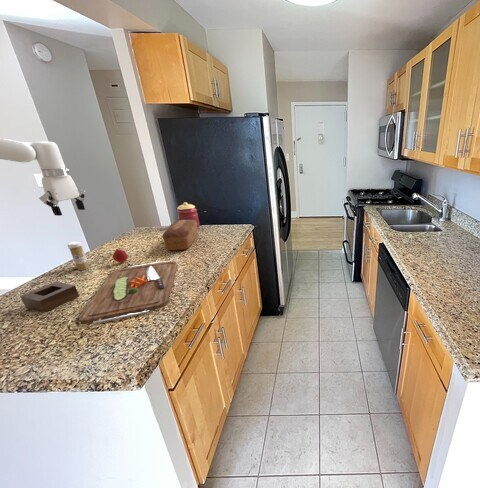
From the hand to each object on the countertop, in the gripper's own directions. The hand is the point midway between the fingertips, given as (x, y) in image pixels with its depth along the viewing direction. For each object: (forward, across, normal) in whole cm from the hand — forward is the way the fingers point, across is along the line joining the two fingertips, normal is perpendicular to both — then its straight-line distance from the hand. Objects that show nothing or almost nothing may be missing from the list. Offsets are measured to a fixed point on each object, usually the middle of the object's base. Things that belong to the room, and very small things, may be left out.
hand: (70, 212), depth 116 cm
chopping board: (+28, +12, +37) cm, 48 cm away
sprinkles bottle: (+28, +1, -4) cm, 28 cm away
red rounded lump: (+28, -7, +10) cm, 31 cm away
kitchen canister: (+28, -66, +6) cm, 72 cm away
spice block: (+28, +26, +13) cm, 41 cm away
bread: (+28, -37, +23) cm, 52 cm away
